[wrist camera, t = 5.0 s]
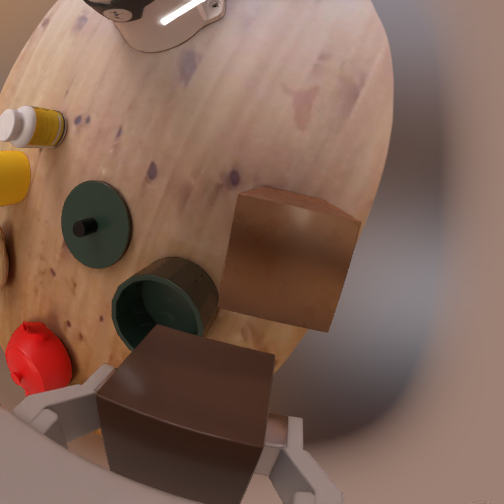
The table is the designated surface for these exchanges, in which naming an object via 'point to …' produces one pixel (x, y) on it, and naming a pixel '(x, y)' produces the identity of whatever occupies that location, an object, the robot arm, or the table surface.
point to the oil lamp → (3, 261)
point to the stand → (287, 258)
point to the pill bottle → (32, 127)
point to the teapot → (38, 359)
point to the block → (187, 415)
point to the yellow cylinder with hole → (13, 177)
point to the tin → (165, 300)
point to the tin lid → (95, 224)
